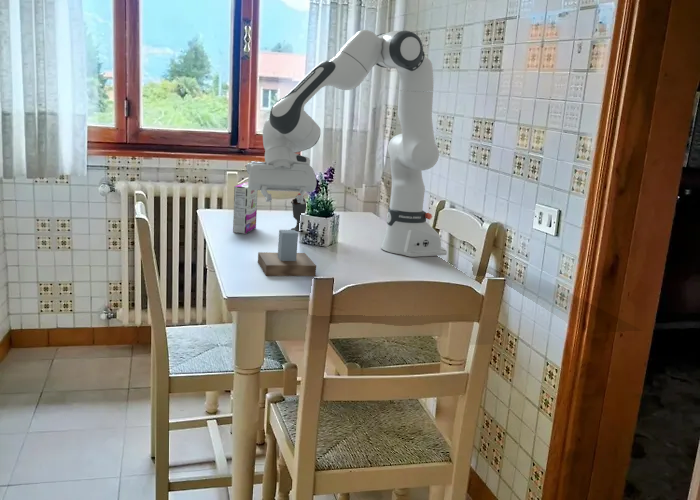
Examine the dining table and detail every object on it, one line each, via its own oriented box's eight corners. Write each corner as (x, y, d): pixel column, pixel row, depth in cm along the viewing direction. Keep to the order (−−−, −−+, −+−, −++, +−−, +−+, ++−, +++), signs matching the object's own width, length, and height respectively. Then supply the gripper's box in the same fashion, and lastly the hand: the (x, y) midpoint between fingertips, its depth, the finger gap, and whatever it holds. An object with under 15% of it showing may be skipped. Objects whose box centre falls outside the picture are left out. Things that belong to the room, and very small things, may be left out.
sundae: (303, 227, 248) (306, 188, 244) (309, 232, 242) (312, 191, 238) (286, 227, 245) (289, 187, 242) (291, 231, 239) (294, 190, 236)
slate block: (292, 256, 193) (294, 230, 191) (296, 261, 189) (298, 233, 187) (277, 256, 191) (279, 229, 190) (280, 260, 187) (282, 233, 185)
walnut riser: (304, 262, 199) (304, 252, 199) (315, 275, 186) (316, 265, 186) (257, 262, 195) (258, 252, 194) (265, 275, 182) (266, 265, 181)
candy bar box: (243, 226, 240) (245, 181, 236) (256, 228, 239) (258, 183, 236) (231, 232, 230) (233, 185, 226) (245, 234, 229) (247, 187, 225)
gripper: (247, 155, 195) (250, 193, 188) (314, 158, 201) (320, 195, 195) (244, 168, 200) (247, 206, 194) (310, 171, 207) (315, 208, 200)
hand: (284, 201), depth 194 cm, fingers open, 8 cm apart
